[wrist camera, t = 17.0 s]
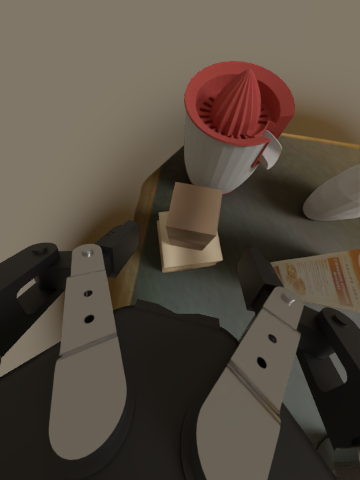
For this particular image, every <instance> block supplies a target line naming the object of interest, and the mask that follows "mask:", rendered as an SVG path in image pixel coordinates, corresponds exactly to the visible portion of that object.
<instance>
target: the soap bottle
mask: <svg viewBox="0 0 360 480" xmlns="http://www.w3.org/2000/svg"><path fill="white" fill-rule="evenodd" d="M303 212H304V214H305V215H306V217H308V218H310V219H312V220H317V221H331V220H341V219H350V218H357V217H360V163H359V164H357V165H355V166H353V167H350V168H348V169H347V170H345V171H343V172H341V173H340V174H338V175H336V176H335V177H333V178H331V179H330V180H328V181H326V182H325V183H324V184H322V185H321V186H320V187H318V188H317V189H316V190H315V191H314V192H313V193H312V194H311V195H310V196H309V197H308V199H307V200H306V201H305V203H304V205H303Z"/></svg>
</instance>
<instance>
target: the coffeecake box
mask: <svg viewBox="0 0 360 480" xmlns="http://www.w3.org/2000/svg"><path fill="white" fill-rule="evenodd" d="M270 263H271V265H272V267H273V269H274V270H275V272H276V274H277V275H278V277H279V279H280V281H281V282H282V284H283V286H284V288H287V289H289V290H291V291H293V292H294V293H295V294H297V295H298V296H299V297H300V299H301V300H302V301H303V302H308V303H313V304H318V305H323V306H328V307H333V308H337V309H342V310H347V311H352V312H357V313H360V249H357V250H350V251H343V252H336V253H329V254H323V255H316V256H310V257H303V258H296V259H288V260H282V261H275V262H270Z"/></svg>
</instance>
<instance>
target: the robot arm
mask: <svg viewBox="0 0 360 480" xmlns="http://www.w3.org/2000/svg"><path fill="white" fill-rule="evenodd" d="M138 244H139V223H138V222H134V221H127V222H126V223H125V224H124V225H120V226H117V227H115V228H113V229H112V230H111V231H110V232H108V233H107V234H106V235H105V236H103V237H102V238H101V239H100V240H98V241H97V242H96V243H95V244H85V245H82V246H79V247H77V248H75V249H74V250H73V251H58V248H57V246H56V245H55V244H53V243H40V244H35V245H32V246H29V247H27V248H26V249H24V250H22V251H20V252H19V253H17V254H15V255H14V256H12V257H10V258H8V259H7V260H5V261H3V262H1V263H0V363H1V358H2V356H4V355H5V353H6V352H7V351H8V350H9V349H10V348H11V347H12V346H13V345H14V344H15V343H16V342H17V341H18V340H19V339H20V337H21V336H22V335H23V334H24V333H25V332H26V331H27V330H28V329H29V328H30V327H31V326H32V324H34V322H35V321H36V320H37V319H38V318H39V317H40V316H41V315H42V314H43V313H44V312H45V311H46V310H47V308H48V307H49V306H50V305H51V304H52V303H53V302H54V301H55V300H56V299H57V298H58V297H59V296H60V295H61V293H62V292H63V291H64V290H65V289H66V292H65V303H64V314H63V325H62V337H61V341H60V342H59V343H57V344H55V345H54V346H52V347H50V348H49V349H47V350H45V351H44V352H42V353H40V354H39V355H37V356H35V357H34V358H32V359H30V360H29V361H27V362H25V363H23V364H22V365H20V366H18V367H17V368H15V369H13V370H12V371H10V372H8V373H7V374H5V375H3V376H2V377H0V480H360V329H359V328H358V327H357V325H356V324H355V323H354V322H353V321H352V320H351V319H350V318H348V317H347V316H346V315H344V314H343V313H341V312H339V311H337V310H335V309H333V308H328V307H326V308H323V309H322V310H321V311H320V312H317V311H315V310H313V309H311V308H309V307H306V306H304V304H303V302H302V300H301V299H300V297H299V296H298V295H297V294H295V293H294V292H293V291H291V290H289V289H287V288H284V286H283V284H282V282H281V281H280V279H279V277H278V275H277V274H276V272H275V270H274V269H273V267H272V265H271V263H270V262H269V261H268V260H267V259H266V258H265V257H263V256H262V254H261V252H260V251H259V249H257V248H253V247H248V246H247V247H246V248H245V250H244V252H243V254H242V256H241V258H240V260H239V262H238V265H237V272H238V276H239V280H240V284H241V288H242V292H243V296H244V300H245V304H246V308H247V310H250V311H254V312H255V314H256V315H255V316H254V317H253V319H252V320H251V322H250V323H249V325H248V326H247V328H246V329H245V331H244V332H243V334H242V336H241V337H240V339H239V340H237V339H236V338H235V337H234V336H233V335H232V334H230V333H229V332H228V331H227V330H225V329H224V328H222V327H220V325H219V319H218V318H214V317H210V316H206V315H201V314H176V313H174V312H172V311H170V310H168V309H166V308H164V307H162V306H161V305H159V304H156V303H152V302H148V301H144V300H139V299H138V300H137V302H136V304H135V305H131V306H125V307H121V308H118V309H115V310H113V309H112V303H111V298H110V292H109V286H108V281H107V278H108V277H113V278H116V276H117V275H118V274H119V272H120V271H121V269H122V268H123V267H124V265H125V264H126V263H127V261H128V260H129V258H130V257H131V256H132V254H133V253H134V251H135V250H136V249H137V247H138ZM33 278H34V279H35V281H36V283H35V284H34V285H33V286H31V287H30V288H29V289H28V290H27V291H25V292H24V293H23V294H22V295H21V296H19V297H18V298H16V297H17V293H18V291H19V290H20V289H21V288H22V287H23V286H24V285H26V284H27V283H28V282H29V281H31V280H32V279H33ZM334 352H335V353H336V354H337V356H338V358H339V360H340V361H341V363H342V365H343V366H344V368H345V370H346V372H347V381H346V383H343V381H342V379H341V377H340V376H339V374H338V372H337V370H336V368H335V366H334V365H333V363H332V361H331V359H330V357H329V356H330V355H331V354H333V353H334ZM295 354H296V355H297V358H298V360H299V363H300V365H301V368H302V370H303V373H304V375H305V378H306V381H307V383H308V386H309V388H310V391H311V393H312V396H313V398H314V401H315V404H316V406H317V409H318V411H319V414H320V416H321V419H322V421H323V424H324V427H325V429H326V432H327V434H328V438H327V439H325V440H324V441H323V442H322V443H321V444H320V445H319V447H318V449H317V450H316V448H315V447H314V445H313V444H312V443H311V441H310V440H309V438H308V437H307V436H306V434H305V433H304V431H303V430H302V429H301V427H300V426H299V425H298V423H297V422H296V420H295V419H294V418H293V416H292V415H291V413H290V412H289V411H288V409H287V408H286V406H285V405H284V404H283V402H282V400H283V397H284V393H285V390H286V386H287V383H288V379H289V376H290V372H291V368H292V365H293V361H294V358H295Z"/></svg>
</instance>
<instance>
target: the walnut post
mask: <svg viewBox="0 0 360 480" xmlns="http://www.w3.org/2000/svg"><path fill="white" fill-rule="evenodd" d="M222 191H223V190H219V189H213V188H208V187H202V186H196V185H191V184H185V183H179V182H175V187H174V191H173V196H172V200H171V205H170V209H169V214H168V218H167V222H166V229H167V234H168V238H169V242H170V245H172V246H178V247H183V248H188V249H194V250H199V251H202V250H203V249H204V248H205V247H206V246H207V245H208V244H209V243H210V242H211V241H212V240H213V239H214V238H215V236H216V235H217V228H218V220H219V213H220V206H221V198H222Z"/></svg>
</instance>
